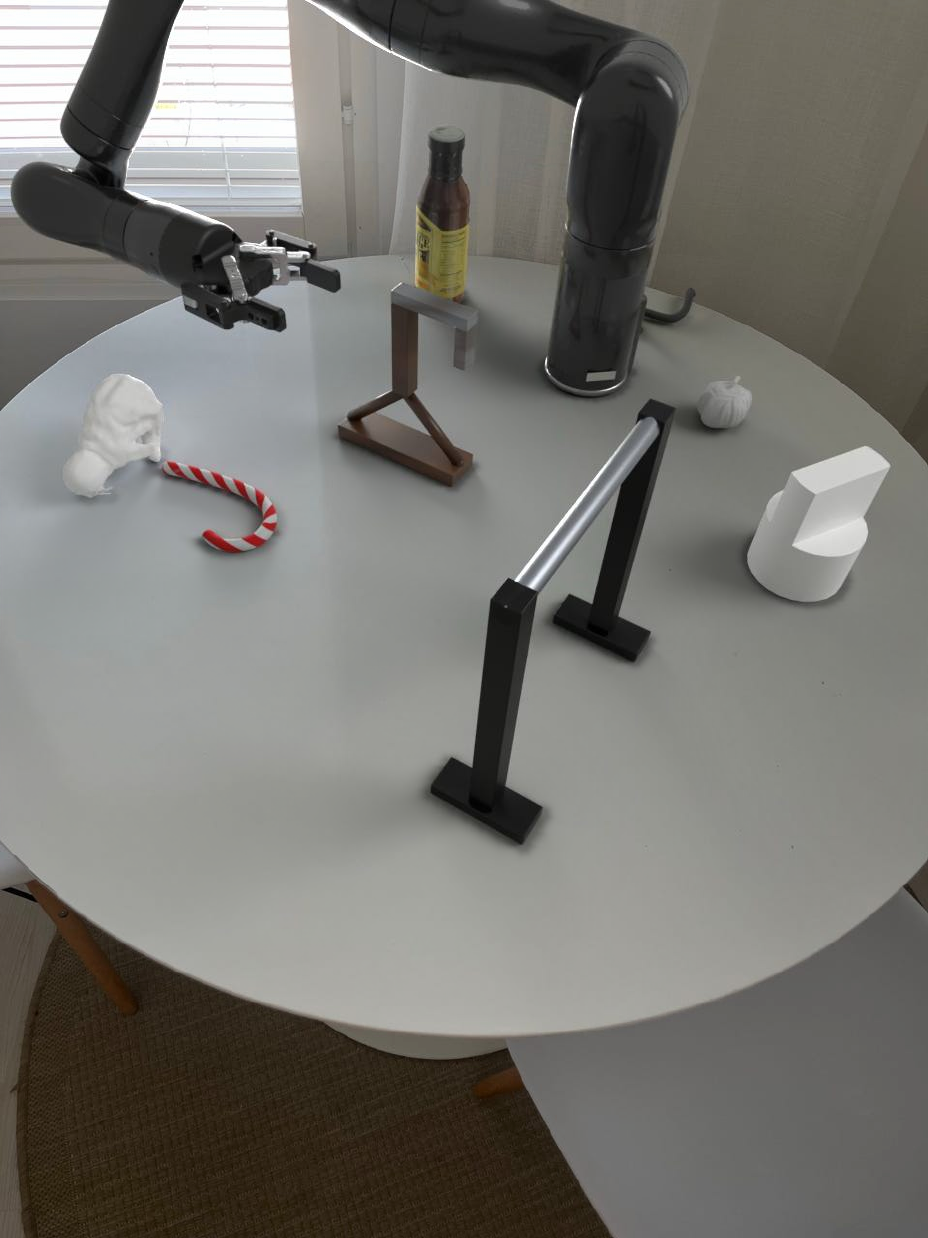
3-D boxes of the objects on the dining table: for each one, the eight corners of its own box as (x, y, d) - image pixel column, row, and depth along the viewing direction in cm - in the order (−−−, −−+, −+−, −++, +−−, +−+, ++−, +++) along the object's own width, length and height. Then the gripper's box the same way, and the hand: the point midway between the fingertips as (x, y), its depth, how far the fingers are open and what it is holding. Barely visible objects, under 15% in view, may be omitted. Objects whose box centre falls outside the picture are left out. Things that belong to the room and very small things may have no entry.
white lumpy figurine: (159, 374, 86) (80, 457, 79) (181, 440, 93) (110, 522, 86) (103, 356, 87) (22, 436, 81) (129, 422, 94) (56, 501, 88)
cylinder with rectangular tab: (789, 614, 82) (838, 518, 73) (727, 549, 87) (765, 451, 78) (863, 583, 85) (919, 487, 76) (799, 522, 90) (844, 424, 81)
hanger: (337, 435, 95) (326, 273, 81) (359, 416, 97) (352, 255, 83) (452, 487, 91) (461, 325, 77) (473, 465, 93) (485, 304, 79)
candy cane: (188, 443, 91) (296, 510, 86) (190, 453, 92) (297, 520, 87) (125, 483, 87) (235, 556, 81) (128, 493, 88) (237, 566, 82)
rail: (567, 601, 82) (613, 378, 63) (648, 639, 79) (720, 419, 61) (430, 793, 69) (438, 582, 50) (522, 845, 66) (566, 644, 48)
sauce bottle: (413, 283, 115) (415, 116, 100) (462, 283, 115) (471, 117, 100) (416, 312, 111) (418, 142, 95) (467, 312, 111) (477, 143, 96)
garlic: (726, 400, 102) (739, 361, 98) (755, 429, 99) (770, 389, 95) (682, 413, 100) (693, 373, 96) (710, 442, 97) (723, 402, 93)
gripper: (123, 242, 85) (259, 298, 80) (224, 186, 93) (354, 234, 88) (140, 314, 91) (269, 370, 86) (234, 255, 99) (357, 304, 94)
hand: (312, 301), depth 87 cm, fingers open, 8 cm apart
